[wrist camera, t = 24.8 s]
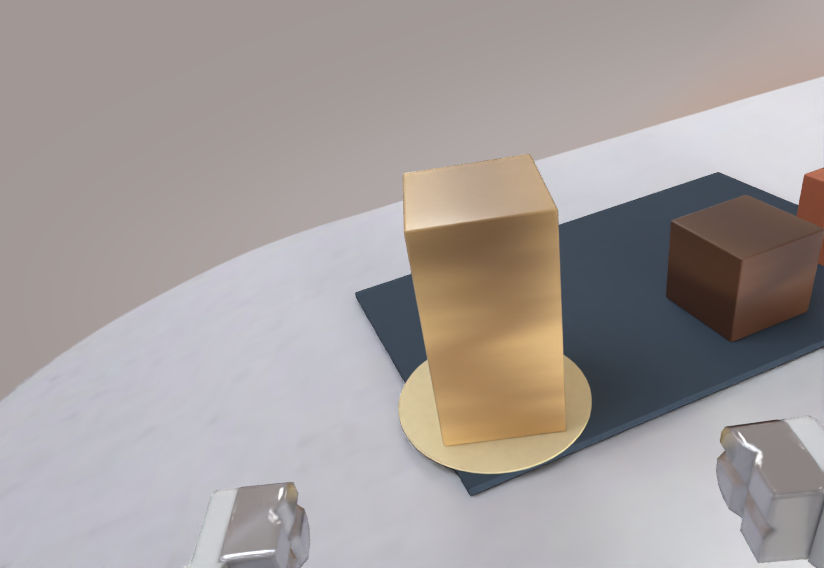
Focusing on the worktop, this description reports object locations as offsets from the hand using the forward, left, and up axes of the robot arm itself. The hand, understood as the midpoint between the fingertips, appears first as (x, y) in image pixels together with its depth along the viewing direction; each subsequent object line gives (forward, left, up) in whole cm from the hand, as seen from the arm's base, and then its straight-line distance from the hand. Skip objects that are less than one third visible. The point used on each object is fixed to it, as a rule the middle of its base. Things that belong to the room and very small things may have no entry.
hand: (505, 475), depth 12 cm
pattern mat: (+5, +21, -10) cm, 24 cm away
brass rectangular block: (-2, +12, -10) cm, 16 cm away
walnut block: (+10, +19, -10) cm, 23 cm away
